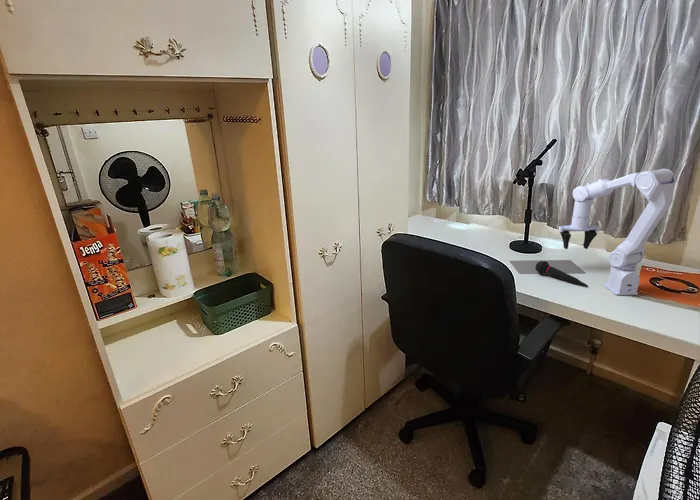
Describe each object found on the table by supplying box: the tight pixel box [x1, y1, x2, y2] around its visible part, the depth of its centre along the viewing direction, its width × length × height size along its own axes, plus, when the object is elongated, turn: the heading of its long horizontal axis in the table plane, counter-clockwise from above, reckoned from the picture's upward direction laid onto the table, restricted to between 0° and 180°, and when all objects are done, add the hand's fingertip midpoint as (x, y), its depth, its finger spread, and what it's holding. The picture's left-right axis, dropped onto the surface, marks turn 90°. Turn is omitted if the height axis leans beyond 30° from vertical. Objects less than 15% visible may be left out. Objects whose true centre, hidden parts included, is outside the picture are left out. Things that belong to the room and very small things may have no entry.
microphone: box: [535, 261, 589, 288], centre depth 150 cm, size 6×6×20 cm
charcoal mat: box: [509, 259, 586, 275], centre depth 163 cm, size 14×26×1 cm, turn 85°
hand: (575, 248), depth 156 cm, fingers open, 7 cm apart
